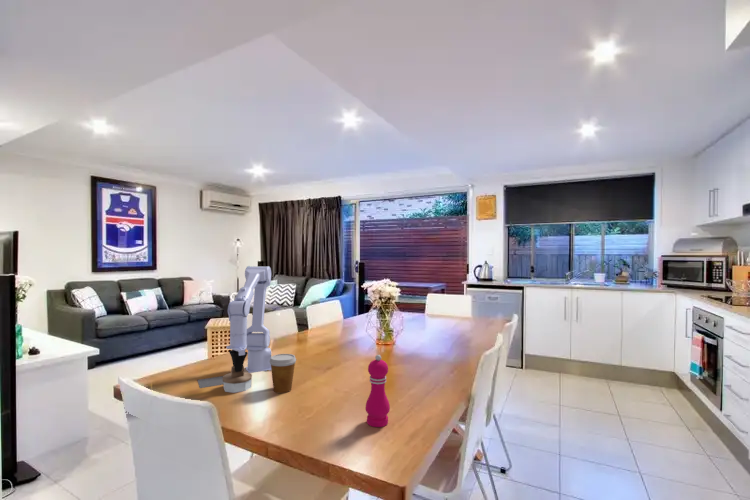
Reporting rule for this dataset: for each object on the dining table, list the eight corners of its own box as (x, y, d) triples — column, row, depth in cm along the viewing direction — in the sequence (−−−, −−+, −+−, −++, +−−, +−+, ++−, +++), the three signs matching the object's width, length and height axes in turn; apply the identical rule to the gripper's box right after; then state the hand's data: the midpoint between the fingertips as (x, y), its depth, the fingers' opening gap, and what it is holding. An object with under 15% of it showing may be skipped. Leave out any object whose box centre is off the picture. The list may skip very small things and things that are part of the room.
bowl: (247, 382, 141) (247, 373, 141) (253, 390, 133) (253, 380, 133) (222, 386, 136) (222, 377, 136) (226, 395, 128) (226, 385, 128)
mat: (224, 376, 147) (224, 375, 147) (229, 384, 139) (229, 383, 139) (197, 380, 142) (197, 379, 142) (199, 389, 134) (199, 388, 134)
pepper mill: (364, 417, 112) (365, 351, 112) (388, 416, 113) (388, 351, 113) (366, 428, 105) (366, 358, 105) (391, 427, 105) (391, 358, 106)
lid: (248, 373, 141) (249, 361, 141) (254, 381, 133) (254, 368, 133) (220, 376, 136) (221, 364, 136) (224, 385, 128) (225, 372, 128)
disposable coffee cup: (300, 387, 137) (301, 354, 137) (286, 396, 128) (287, 361, 128) (278, 384, 140) (279, 352, 140) (263, 392, 131) (263, 359, 131)
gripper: (223, 330, 139) (223, 366, 139) (230, 338, 126) (229, 378, 126) (243, 329, 142) (242, 364, 142) (251, 336, 130) (250, 374, 130)
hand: (237, 370), depth 134 cm, fingers closed on lid, 2 cm apart
